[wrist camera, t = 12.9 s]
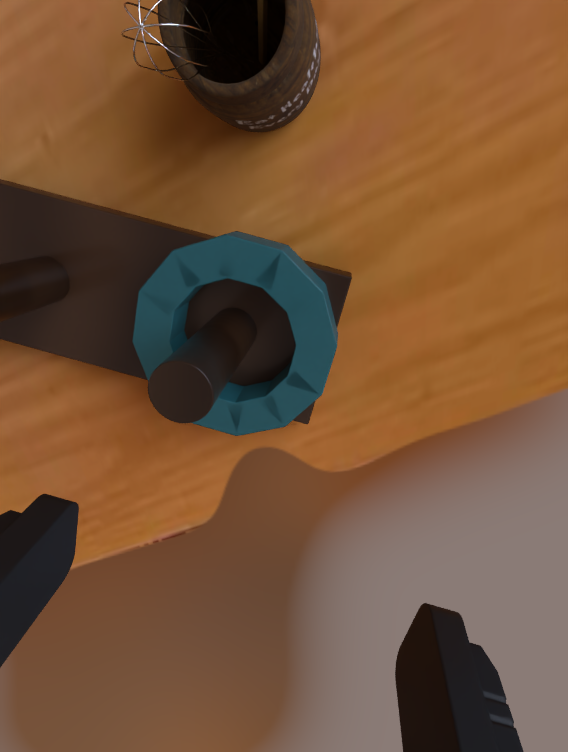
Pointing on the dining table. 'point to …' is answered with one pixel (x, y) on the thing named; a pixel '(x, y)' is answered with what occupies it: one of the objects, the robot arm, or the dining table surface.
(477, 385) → the dining table surface
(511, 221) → the dining table surface
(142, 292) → the teal faceted ring
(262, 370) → the rack
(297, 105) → the utensil holder
